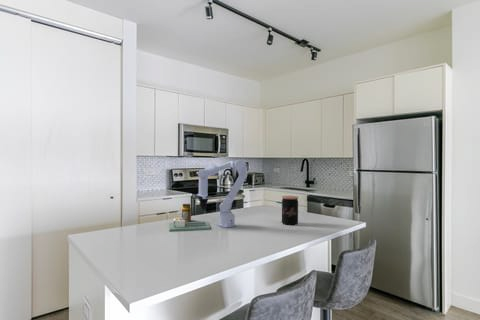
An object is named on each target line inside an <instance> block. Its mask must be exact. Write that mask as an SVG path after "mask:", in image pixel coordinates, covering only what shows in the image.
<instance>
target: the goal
mask: <svg viewBox="0 0 480 320" xmlns="http://www.w3.org/2000/svg"><path fill="white" fill-rule="evenodd" d="M178 219H180V220H178ZM176 220H177V221H176ZM173 223H174V228H176V227H185V220H183V218H182V217H174V218H173Z"/></svg>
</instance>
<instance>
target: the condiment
mask: <svg viewBox="0 0 480 320" xmlns="http://www.w3.org/2000/svg"><path fill="white" fill-rule="evenodd" d="M183 212H188V220H187V222H195V219H192V208H191V204H190V203H183V204H182V207H181V218H183Z"/></svg>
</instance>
